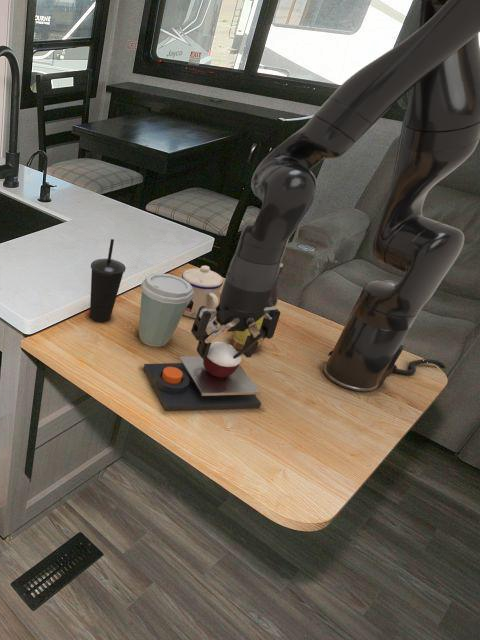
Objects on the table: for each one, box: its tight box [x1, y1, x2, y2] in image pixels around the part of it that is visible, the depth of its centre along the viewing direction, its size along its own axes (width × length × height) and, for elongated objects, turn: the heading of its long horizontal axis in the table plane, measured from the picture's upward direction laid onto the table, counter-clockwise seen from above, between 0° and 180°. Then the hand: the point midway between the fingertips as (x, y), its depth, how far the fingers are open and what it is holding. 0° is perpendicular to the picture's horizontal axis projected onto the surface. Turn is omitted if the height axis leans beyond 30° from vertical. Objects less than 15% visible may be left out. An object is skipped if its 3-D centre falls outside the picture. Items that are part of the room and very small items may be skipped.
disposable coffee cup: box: [138, 272, 194, 348], centre depth 112 cm, size 11×11×15 cm
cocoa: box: [203, 333, 265, 378], centre depth 97 cm, size 10×6×12 cm, turn 10°
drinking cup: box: [89, 238, 127, 324], centre depth 119 cm, size 8×8×20 cm
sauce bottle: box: [230, 262, 284, 353], centre depth 109 cm, size 6×6×20 cm
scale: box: [142, 362, 262, 412], centre depth 102 cm, size 18×13×3 cm
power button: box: [162, 367, 183, 384], centre depth 101 cm, size 4×4×2 cm
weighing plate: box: [178, 355, 261, 396], centre depth 101 cm, size 11×12×1 cm
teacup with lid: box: [181, 265, 224, 319], centre depth 123 cm, size 12×9×12 cm
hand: (224, 355), depth 98 cm, fingers open, 8 cm apart
